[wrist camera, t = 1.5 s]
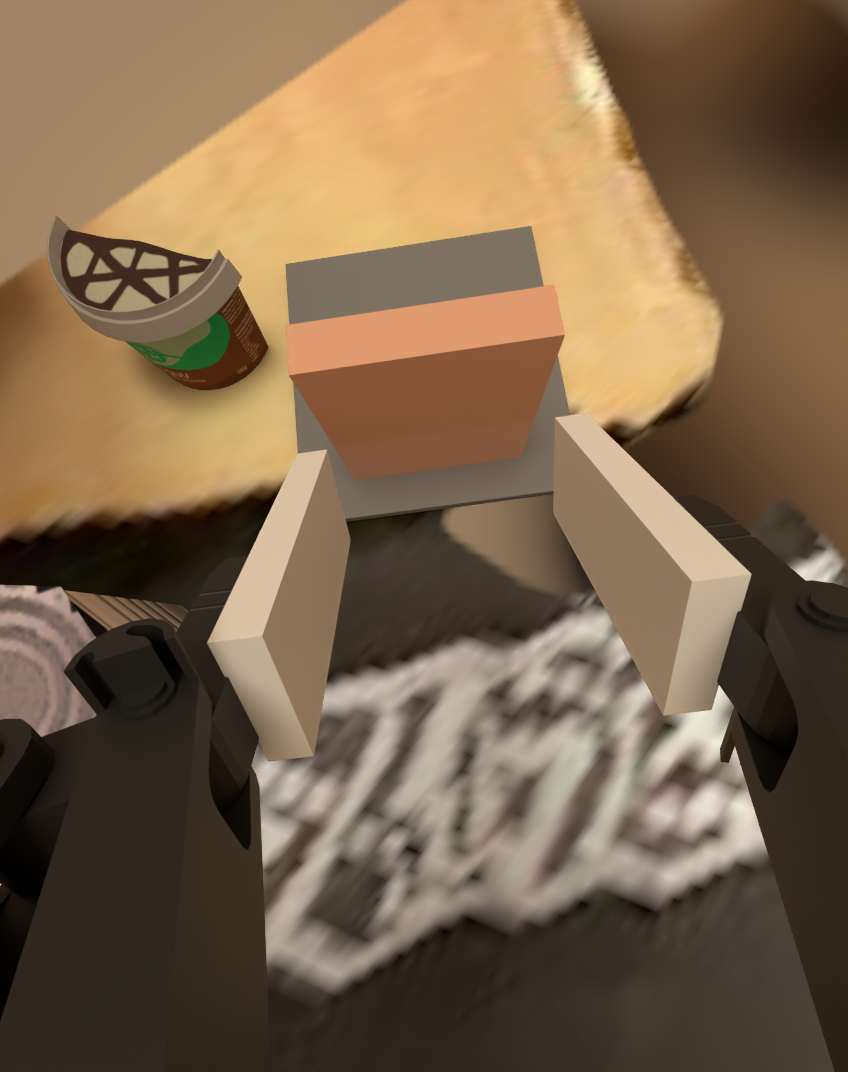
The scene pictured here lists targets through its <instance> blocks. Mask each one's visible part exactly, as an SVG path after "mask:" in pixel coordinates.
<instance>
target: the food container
mask: <svg viewBox="0 0 848 1072" xmlns="http://www.w3.org/2000/svg"><path fill="white" fill-rule="evenodd" d="M47 256H48V263H49V267H50V270H51V273H52V275H53V277H54V279H55V281H56V284H57V286H58V288H59V290H60V291H61V293H62V295H63V296H64V297H65V299H66V300H67V301H68V303H69V304H70V305H71V307H72V308H73V309H74V310H75V312H76V313H77V314H78V315H79V317H80V318H81V319H82V320H83V321H84V322H85V323H86V324H87V325H89V326H90V327H91V328H92V329H94V330H95V331H97V332H99V333H101V334H103V335H105V336H107V337H110V338H114V339H117V340H121V341H125V342H127V343H128V344H129V345H131V346H132V347H133V348H135V349H136V350H137V351H138V352H140V353H141V354H142V355H144V356H145V357H146V358H147V359H149V360H150V361H151V362H153V363H154V364H155V365H157V366H158V367H159V368H160V369H162V370H163V371H164V372H166V373H167V374H168V375H170V376H171V377H172V378H173V379H175V380H176V381H178V382H180V383H181V384H183V385H185V386H187V387H190V388H193V389H199V390H214V389H220V388H224V387H227V386H230V385H232V384H234V383H236V382H238V381H240V380H241V379H243V378H244V377H246V376H247V375H248V374H249V373H251V372H252V371H253V370H254V369H255V368H256V367H257V365H258V364H259V363H260V362H261V360H262V359H263V357H264V355H265V353H266V351H267V349H268V345H267V343H266V341H265V339H264V337H263V335H262V333H261V331H260V329H259V327H258V325H257V323H256V321H255V319H254V317H253V315H252V313H251V311H250V309H249V307H248V305H247V303H246V301H245V299H244V297H243V295H242V293H241V291H240V289H239V287H238V284H239V282H240V280H241V278H242V276H241V275H240V274H239V272H238V271H237V270H236V269H235V267H234V266H233V265H232V263H231V262H230V261H229V260H228V259H225V258H224V257H223V255H222V254H221V252H220V250H217V252H216V254H215V256H214V258H213V260H212V259H202V258H196V257H192V256H188V255H183V254H180V253H176V252H173V251H170V250H167V249H164V248H161V247H158V246H155V245H151V244H148V243H144V242H141V241H134V240H124V239H111V238H104V237H100V236H95V235H90V234H85V233H81V232H77V231H72V230H71V229H70V228H69V227H68V226H67V225H66V224H64V222H63V221H62V220H61V219H60V218H59V217H58V216H55V218H54V220H53V223H52V225H51V228H50V232H49V236H48V242H47Z"/></svg>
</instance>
